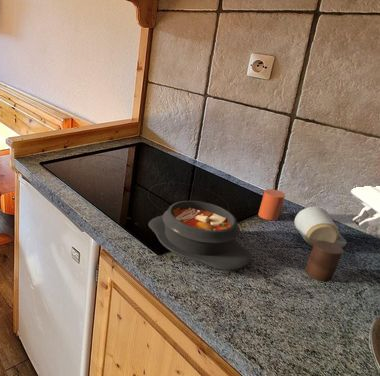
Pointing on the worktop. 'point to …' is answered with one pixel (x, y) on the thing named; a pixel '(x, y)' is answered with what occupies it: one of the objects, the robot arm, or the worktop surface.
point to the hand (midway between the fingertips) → (357, 224)
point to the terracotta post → (271, 204)
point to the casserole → (202, 234)
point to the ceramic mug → (318, 227)
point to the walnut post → (323, 260)
